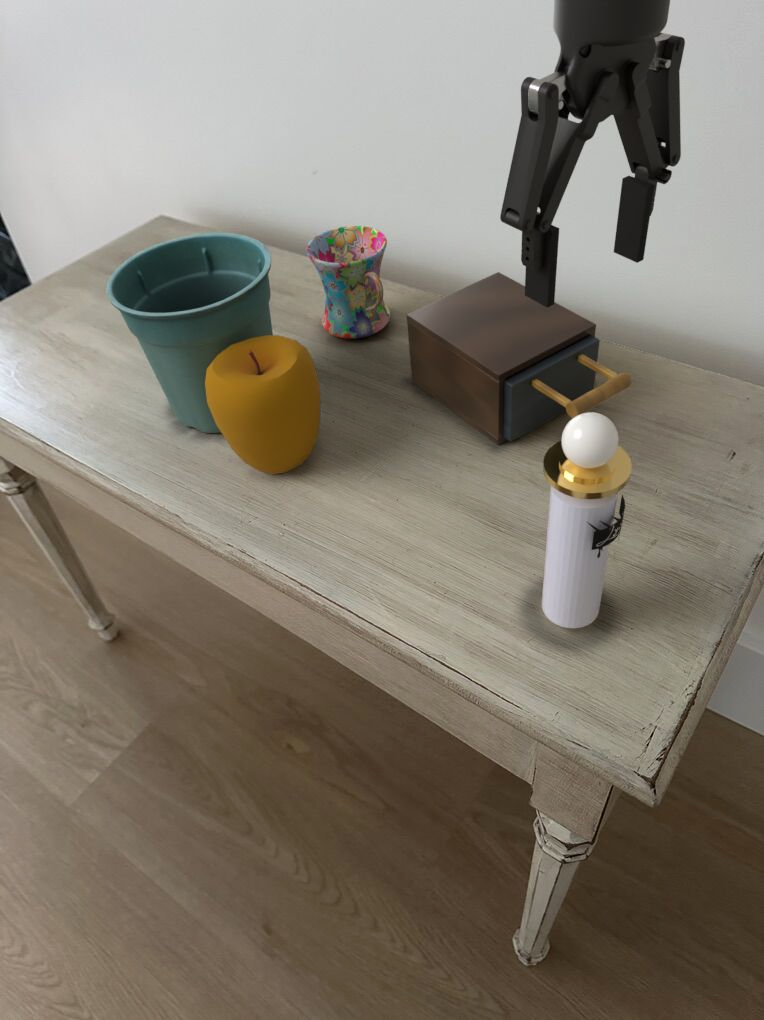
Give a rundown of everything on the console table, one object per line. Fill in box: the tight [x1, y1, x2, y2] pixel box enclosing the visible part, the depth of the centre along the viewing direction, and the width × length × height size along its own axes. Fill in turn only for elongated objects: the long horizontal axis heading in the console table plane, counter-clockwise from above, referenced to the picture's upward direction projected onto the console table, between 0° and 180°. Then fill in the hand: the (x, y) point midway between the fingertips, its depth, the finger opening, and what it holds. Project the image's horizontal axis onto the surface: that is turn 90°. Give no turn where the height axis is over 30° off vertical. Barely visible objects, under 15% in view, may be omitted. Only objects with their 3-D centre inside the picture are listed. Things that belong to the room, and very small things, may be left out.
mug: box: [306, 225, 391, 340], centre depth 93 cm, size 12×9×11 cm
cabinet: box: [406, 271, 597, 446], centre depth 83 cm, size 15×13×9 cm
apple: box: [205, 334, 321, 475], centre depth 77 cm, size 11×11×13 cm
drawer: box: [503, 335, 633, 442], centre depth 80 cm, size 20×11×7 cm, turn 35°
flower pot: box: [105, 232, 274, 434], centre depth 84 cm, size 16×16×16 cm
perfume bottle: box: [541, 411, 633, 629], centre depth 57 cm, size 6×6×20 cm
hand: (585, 277), depth 67 cm, fingers open, 10 cm apart
